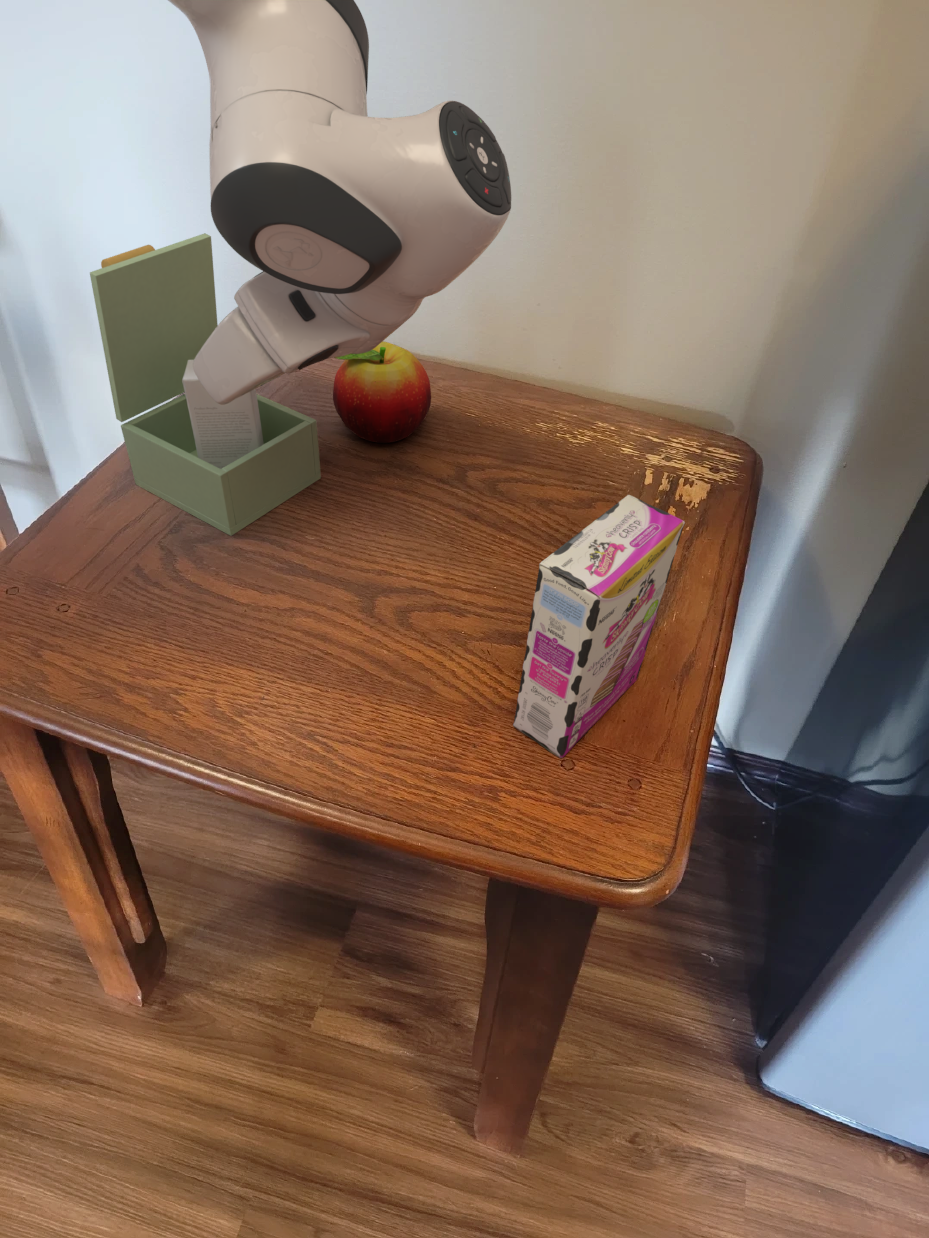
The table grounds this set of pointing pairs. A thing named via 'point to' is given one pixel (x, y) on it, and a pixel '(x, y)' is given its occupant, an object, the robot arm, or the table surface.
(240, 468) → the chest
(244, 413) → the cosmetic box
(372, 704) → the table surface
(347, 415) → the fruit
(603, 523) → the candy bar box
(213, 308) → the lid
